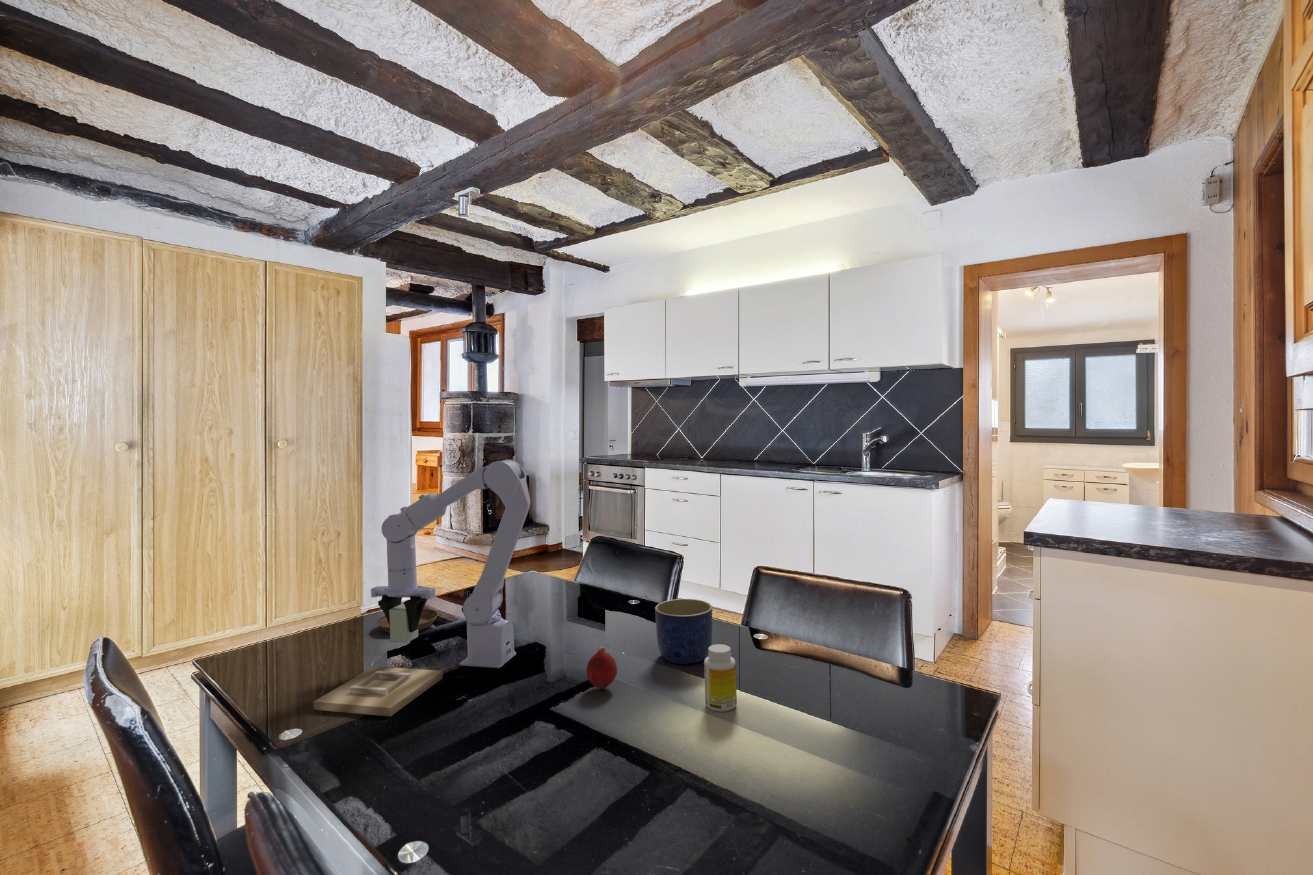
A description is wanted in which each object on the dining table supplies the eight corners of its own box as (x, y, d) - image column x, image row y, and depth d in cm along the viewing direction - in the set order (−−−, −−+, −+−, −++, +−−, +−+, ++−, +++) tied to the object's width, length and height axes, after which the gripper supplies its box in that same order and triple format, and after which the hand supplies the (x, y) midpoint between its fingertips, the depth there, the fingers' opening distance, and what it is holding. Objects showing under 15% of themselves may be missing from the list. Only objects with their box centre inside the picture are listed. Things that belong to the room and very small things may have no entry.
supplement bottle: (743, 708, 101) (741, 650, 101) (716, 715, 99) (714, 656, 99) (725, 695, 106) (724, 640, 106) (699, 702, 104) (697, 645, 104)
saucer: (444, 628, 149) (444, 618, 149) (382, 641, 141) (381, 630, 141) (431, 614, 161) (430, 605, 161) (372, 626, 153) (372, 615, 153)
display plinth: (442, 678, 117) (442, 665, 117) (390, 716, 102) (390, 702, 102) (374, 673, 121) (373, 661, 121) (313, 709, 105) (313, 695, 105)
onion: (612, 697, 107) (611, 654, 107) (582, 695, 108) (581, 652, 108) (620, 683, 112) (619, 642, 112) (592, 681, 114) (591, 641, 114)
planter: (647, 664, 122) (646, 612, 122) (668, 643, 133) (667, 596, 133) (703, 671, 117) (702, 618, 117) (720, 649, 128) (719, 601, 128)
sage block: (418, 636, 128) (417, 604, 128) (406, 642, 124) (405, 610, 124) (402, 635, 128) (401, 604, 128) (390, 641, 125) (389, 609, 124)
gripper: (360, 571, 124) (362, 635, 124) (420, 573, 120) (422, 638, 121) (382, 564, 130) (384, 624, 131) (439, 565, 127) (442, 626, 127)
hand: (404, 630), depth 126 cm, fingers closed on sage block, 4 cm apart
